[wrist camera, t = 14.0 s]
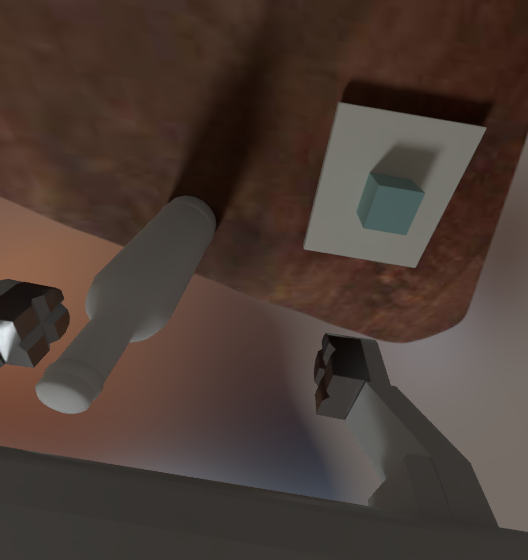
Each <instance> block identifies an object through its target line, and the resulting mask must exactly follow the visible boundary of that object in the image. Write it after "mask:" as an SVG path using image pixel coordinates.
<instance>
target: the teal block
mask: <svg viewBox="0 0 528 560" xmlns="http://www.w3.org/2000/svg"><path fill="white" fill-rule="evenodd" d="M424 195H425V192H424V191H423V190H422V189H420V188H419V187H418V186H417V185H416V184H415V183H414V182H413V181H412V180H410V179H404V178H399V177H393V176H387V175H381V174H375V173H369V175H368V178H367V181H366V184H365V187H364V190H363V193H362V196H361V199H360V202H359V205H358V208H357V211H356V213H357V215H358V217H359V220H360V222H361V224H362V226H363V228H365V229H371V230H376V231H382V232H388V233H394V234H400V235H407V232H408V230H409V228H410V226H411V224H412V221H413V219H414V217H415V215H416V213H417V210H418V208H419V206H420V204H421V202H422V200H423V197H424Z"/></svg>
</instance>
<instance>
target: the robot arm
mask: <svg viewBox="0 0 528 560" xmlns="http://www.w3.org/2000/svg"><path fill="white" fill-rule="evenodd" d="M63 300H64V296H63V294H62V291H61V290H60V289H57V288H54V287H48V286H44V285H38V284H33V283H28V282H21V281H15V280H11V279H5V280H1V281H0V367H2V366H4V364H10V365H17V366H25V367H32V368H34V367H35V366H36V365H37V364H38V363H39V361H40V360H41V359H42V358H43V357H44V356H45V355H46V354H47V353H48V352H49V350H50V343H52V342H55V341H57V340H59V339H60V338H61V337H62V336H63V335H64V333H65V332H66V330H67V328H68V325H69V319H70V318H69V317H70V316H69V312H68V310H67V309H66V308H65V307H64V306H63V305H62V304H61V303H62V301H63ZM314 381H315V383H316V384H317V385H318V388H317V390H316V393H315V400H316V414H317V415H322V416H328V417H333V418H338V419H343V420H345V423H346V424H347V426H348V427H349V429H350V431H351V432H352V434H353V436H354V437H355V439H356V440H357V442H358V444H359V445H360V447H361V448H362V450H363V452H364V454H365V455H366V457H367V458H368V460H369V461H370V463H371V465H372V466H373V468H374V470H375V471H376V473H377V474H378V476H379V478H380V479H381V481H382V484H381V485H380V487H379V488H378V489H377V490H376V491H375V492H374V494H373V495H372V496H371V497H370V498H369V499H368V504H369V506H364V505H358V504H352V503H346V502H340V501H334V500H328V499H321V498H315V497H309V496H303V495H297V494H291V493H285V492H278V491H272V490H266V489H260V488H254V487H248V486H242V485H236V484H229V483H224V482H218V481H211V480H205V479H199V478H193V477H186V476H181V475H175V474H168V473H163V472H156V471H150V470H144V469H138V468H132V467H125V466H120V465H113V464H107V463H101V462H95V461H89V460H83V459H77V458H71V457H65V456H59V455H52V454H46V453H39V452H34V451H28V450H22V449H15V448H10V447H3V446H0V560H528V532H524V531H517V530H512V529H505V528H500V527H499V526H498V524H497V522H496V519H495V517H494V515H493V513H492V510H491V508H490V506H489V504H488V502H487V499H486V497H485V495H484V492H483V491H482V488H481V486H480V484H479V481H478V479H477V477H476V475H475V472H474V470H473V468H472V466H471V463H470V462H469V461H468V460H467V459H466V458H465V457H464V456H463V455H462V454H461V453H460V452H459V451H458V450H457V449H456V448H455V447H454V446H453V445H452V444H451V443H450V442H449V441H448V439H447V438H446V437H444V435H443V434H442V433H441V432H440V431H439V430H438V429H437V428H436V427H435V426H434V425H433V424H432V423H431V422H430V421H429V420H428V419H427V418H426V417H425V416H424V415H423V414H422V413H421V412H420V411H419V410H418V409H417V408H416V407H415V406H414V405H413V404H412V403H411V401H410V400H409V399H408V398H407V397H406V396H404V394H403V393H402V392H401V391H400V390H399V389H398V388H397V387H395V386H391V385H390V381H389V378H388V375H387V372H386V369H385V365H384V362H383V359H382V356H381V353H380V349H379V346H378V343H377V342H376V341H375V340H371V339H364V338H357V337H350V336H343V335H338V334H331V333H326V334H325V335H324V337H323V339H322V349H321V350H320V351H318V353H317V357H316V360H315V367H314Z"/></svg>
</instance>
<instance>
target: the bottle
mask: <svg viewBox="0 0 528 560" xmlns="http://www.w3.org/2000/svg"><path fill="white" fill-rule="evenodd" d="M215 229H216V219H215V215H214V213H213V212H212V210H211V208H210V207H209V206H208V205H207V204H206V203H205V202H204V201H202V200H200V199H198V198H196V197H194V196H186V195H184V196H180V197H176V198H175V199H173V200H172V201H170V202H169V203H168V204H167V205H165V206H164V207H163V208H162V209H161V211H160V212H159V213H158V214H157V215H156V216H155V217H154V218H153V219H152V220H151V221H150V222H149V223H148V224H147V225H146V226H145V227H144V228H143V229H142V230H141V231H140V232H139V233H138V234H137V235H136V236H135V237H134V238H133V239H132V240H131V241H130V242H129V243H128V244H127V245H126V246H125V247H124V248H123V249H122V250H121V251H120V252H119V253H118V254H117V255H116V256H115V257H114V258H113V259H112V260H111V261H110V262H109V263H108V264H107V265H106V266H105V267H104V268H103V269H102V270H101V271H100V272H99V273H98V274H97V275H96V276H95V278H94V281H93V282H92V285H91V287H90V289H89V292H88V295H87V298H86V302H85V305H86V312H87V315H88V316H89V318H90V321H89V322H88V323H87V325H86V326H85V327H84V328H83V329H82V331H81V332H80V333H79V334H78V336H77V337H76V338H75V339H74V340H73V341H72V342H71V344H70V345H69V346H68V347H67V349H66V350H65V351H64V352H63V353H62V354H61V356H60V357H59V358H58V359H57V360H56V361H55V362H54V363H52V364H50V365H49V366H48V367H47V368H46V370H45V372H44V375H43V377H42V378H41V379H40V381H39V382H38V383H37V385H36V387H35V389H36V393H37V396H38V398H39V399H40V400H41V402H43V403H44V404H45V405H47V406H48V407H50V408H52V409H54V410H56V411H60V412H63V413H69V414H72V413H80V412H83V411H85V410H87V409H88V407H89V406H90V404H91V403H92V401H93V400H94V399H96V398H97V397H98V395H99V394H100V392H101V391H102V389H103V384H104V382H105V380H106V379H107V377H108V376H109V374H110V372H111V371H112V369H113V368H114V366H115V364H116V363H117V361H118V360H119V358H120V356H121V355H122V353H123V352H124V350H125V349H126V347H127V345H128V344H129V342H136V341H143V340H145V339H147V338H149V337H151V336H152V335H154V334H155V333H156V332H158V331H159V330H160V329H161V328H162V327H164V326H165V324H166V323H167V322H168V320H169V319H170V318H171V316H172V314H173V312H174V310H175V308H176V306H177V304H178V302H179V300H180V298H181V297H182V295H183V293H184V291H185V289H186V287H187V285H188V283H189V281H190V279H191V277H192V275H193V273H194V272H195V270H196V268H197V266H198V264H199V262H200V260H201V258H202V256H203V254H204V252H205V250H206V248H207V247H208V245H209V243H210V242H211V240H212V239H213V235H214V233H215Z"/></svg>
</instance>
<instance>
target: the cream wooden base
mask: <svg viewBox="0 0 528 560" xmlns="http://www.w3.org/2000/svg"><path fill="white" fill-rule="evenodd" d="M485 130H486V127H482V126H478V125H472V124H466V123H460V122H455V121H449V120H443V119H437V118H431V117H425V116H419V115H413V114H408V113H402V112H396V111H390V110H384V109H378V108H372V107H366V106H361V105H355V104H349V103H343V102H338V104H337V108H336V113H335V117H334V121H333V125H332V129H331V133H330V137H329V141H328V145H327V150H326V154H325V158H324V162H323V166H322V170H321V174H320V178H319V182H318V187H317V191H316V195H315V199H314V203H313V207H312V211H311V215H310V219H309V224H308V228H307V232H306V236H305V240H304V249H306V250H312V251H318V252H324V253H330V254H336V255H342V256H348V257H354V258H360V259H366V260H372V261H378V262H384V263H390V264H396V265H402V266H408V267H413V268H415V267H416V265H417V263H418V261H419V259H420V258H421V256H422V254H423V252H424V250H425V248H426V246H427V244H428V242H429V240H430V238H431V236H432V234H433V232H434V230H435V228H436V226H437V224H438V222H439V220H440V218H441V216H442V214H443V213H444V211H445V209H446V207H447V205H448V203H449V201H450V199H451V197H452V195H453V193H454V191H455V189H456V187H457V185H458V183H459V181H460V179H461V177H462V175H463V173H464V171H465V169H466V168H467V166H468V164H469V162H470V160H471V158H472V156H473V154H474V152H475V150H476V148H477V146H478V144H479V142H480V140H481V138H482V136H483V134H484V132H485ZM369 173H375V174H381V175H387V176H393V177H399V178H404V179H410V180H412V181H413V182H414V183H415V184H416V185H417V186H418V187H419V188H420V189H422V190H423V191H424V192H425V195H424V197H423V200H422V202H421V204H420V206H419V208H418V210H417V213H416V215H415V217H414V219H413V221H412V224H411V226H410V228H409V230H408V232H407V235H400V234H394V233H388V232H382V231H376V230H371V229H365V228H363V226H362V224H361V222H360V220H359V217H358V215H357V213H356V211H357V208H358V205H359V202H360V199H361V196H362V193H363V190H364V187H365V184H366V181H367V178H368V175H369Z"/></svg>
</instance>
